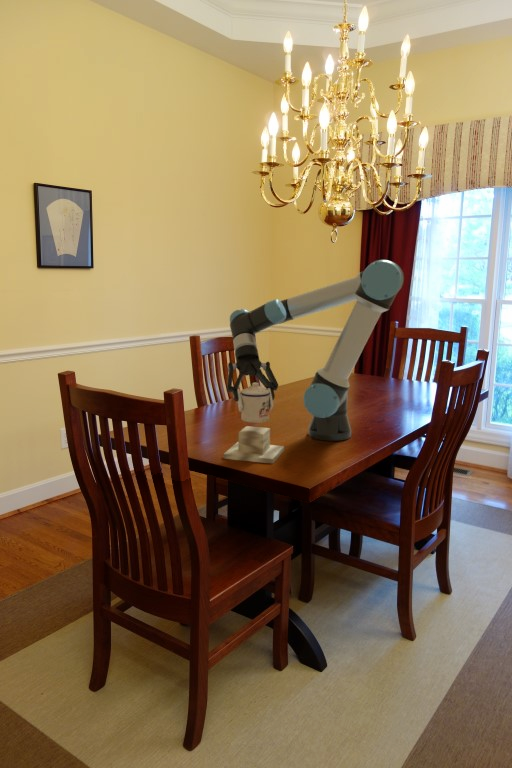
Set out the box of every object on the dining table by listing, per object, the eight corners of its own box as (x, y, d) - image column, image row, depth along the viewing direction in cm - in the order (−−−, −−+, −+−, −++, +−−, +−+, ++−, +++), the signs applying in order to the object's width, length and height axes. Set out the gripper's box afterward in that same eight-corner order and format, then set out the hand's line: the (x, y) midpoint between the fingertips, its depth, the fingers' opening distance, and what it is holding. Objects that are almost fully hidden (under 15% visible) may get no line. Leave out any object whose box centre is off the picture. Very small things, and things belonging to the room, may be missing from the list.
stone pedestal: (284, 450, 190) (284, 426, 189) (272, 463, 177) (273, 438, 175) (237, 446, 195) (237, 422, 193) (223, 458, 181) (223, 433, 180)
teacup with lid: (264, 424, 177) (264, 386, 174) (236, 421, 180) (236, 384, 177) (275, 415, 188) (276, 379, 186) (249, 412, 191) (249, 377, 188)
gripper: (275, 356, 198) (287, 413, 185) (212, 358, 193) (220, 416, 180) (280, 343, 191) (292, 400, 179) (214, 344, 187) (223, 403, 174)
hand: (256, 408), depth 180 cm, fingers closed on teacup with lid, 9 cm apart
